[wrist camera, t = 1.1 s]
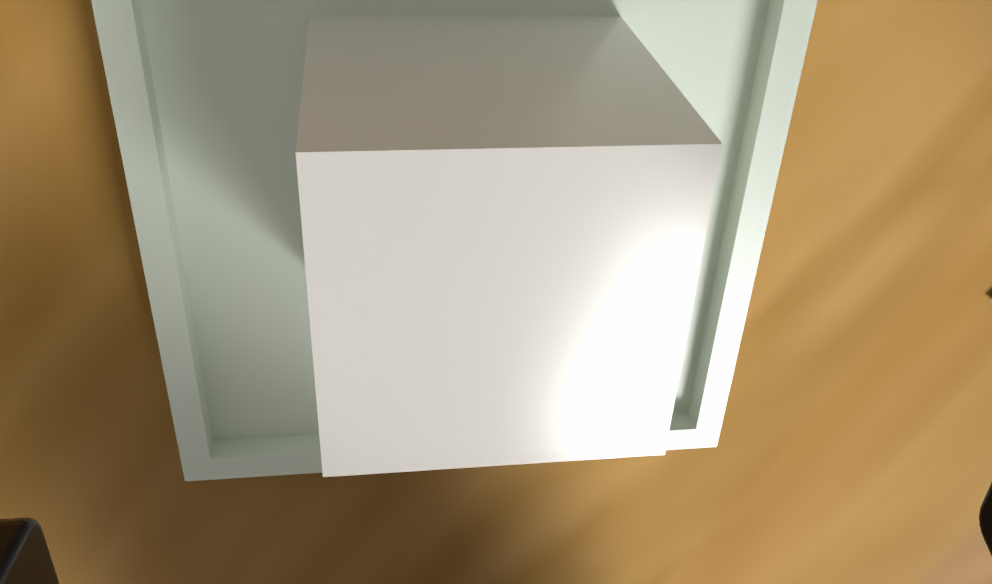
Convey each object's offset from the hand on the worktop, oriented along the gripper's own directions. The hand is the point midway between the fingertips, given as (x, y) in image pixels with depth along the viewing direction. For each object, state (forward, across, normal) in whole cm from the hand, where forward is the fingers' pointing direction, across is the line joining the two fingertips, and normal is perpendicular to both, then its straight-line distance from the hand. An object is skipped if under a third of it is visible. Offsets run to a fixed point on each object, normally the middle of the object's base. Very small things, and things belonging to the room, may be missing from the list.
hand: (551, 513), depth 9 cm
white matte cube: (+7, 0, 0) cm, 7 cm away
